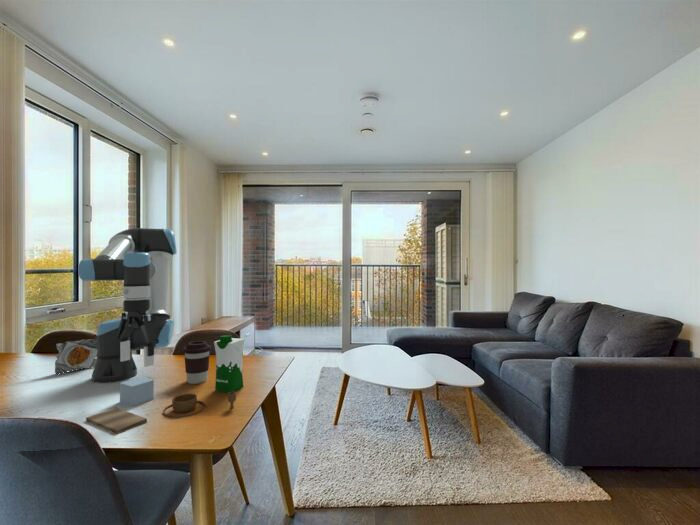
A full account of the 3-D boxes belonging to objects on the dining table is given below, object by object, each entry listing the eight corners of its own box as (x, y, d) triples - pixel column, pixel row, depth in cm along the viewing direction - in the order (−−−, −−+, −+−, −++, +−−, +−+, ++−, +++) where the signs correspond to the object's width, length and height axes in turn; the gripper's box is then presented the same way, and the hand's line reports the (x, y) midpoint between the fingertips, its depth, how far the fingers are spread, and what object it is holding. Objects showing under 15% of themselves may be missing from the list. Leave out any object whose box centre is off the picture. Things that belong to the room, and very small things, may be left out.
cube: (119, 404, 113) (119, 382, 113) (141, 396, 119) (141, 376, 119) (132, 408, 110) (132, 386, 110) (153, 400, 116) (153, 379, 116)
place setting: (195, 399, 118) (195, 382, 118) (239, 410, 110) (239, 391, 110) (145, 420, 102) (145, 400, 102) (193, 435, 94) (193, 413, 94)
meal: (57, 377, 140) (57, 344, 140) (54, 374, 143) (54, 343, 143) (101, 368, 152) (101, 338, 152) (98, 366, 154) (98, 337, 154)
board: (86, 423, 99) (86, 417, 99) (116, 413, 106) (116, 407, 106) (116, 437, 91) (116, 430, 91) (146, 424, 98) (146, 418, 98)
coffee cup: (200, 386, 129) (200, 346, 129) (177, 384, 131) (177, 345, 131) (216, 377, 139) (216, 340, 139) (194, 376, 141) (194, 339, 141)
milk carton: (211, 392, 123) (211, 336, 123) (227, 383, 132) (227, 331, 132) (231, 395, 120) (231, 338, 120) (247, 386, 129) (247, 333, 129)
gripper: (104, 298, 117) (104, 361, 117) (147, 301, 105) (147, 371, 105) (127, 296, 124) (127, 355, 124) (171, 299, 112) (170, 365, 112)
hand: (136, 363), depth 114 cm, fingers open, 13 cm apart
